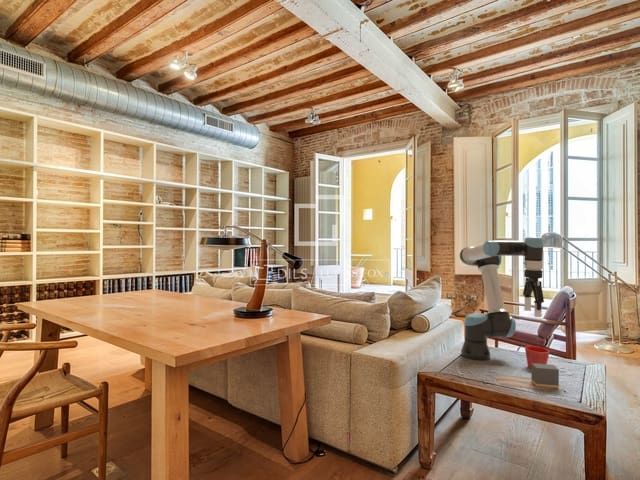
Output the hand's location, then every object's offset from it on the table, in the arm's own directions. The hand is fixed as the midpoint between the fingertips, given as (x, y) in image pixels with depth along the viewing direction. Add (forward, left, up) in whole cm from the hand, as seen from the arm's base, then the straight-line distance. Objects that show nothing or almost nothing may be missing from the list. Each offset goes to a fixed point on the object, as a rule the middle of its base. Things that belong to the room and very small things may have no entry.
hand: (532, 313), depth 177 cm
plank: (+10, -5, -31) cm, 33 cm away
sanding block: (+10, +2, -30) cm, 31 cm away
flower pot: (-14, +7, -31) cm, 35 cm away
